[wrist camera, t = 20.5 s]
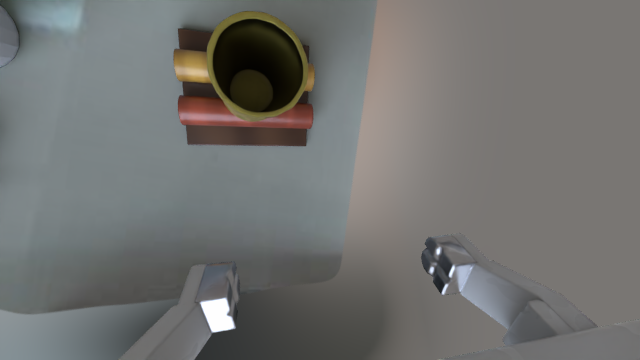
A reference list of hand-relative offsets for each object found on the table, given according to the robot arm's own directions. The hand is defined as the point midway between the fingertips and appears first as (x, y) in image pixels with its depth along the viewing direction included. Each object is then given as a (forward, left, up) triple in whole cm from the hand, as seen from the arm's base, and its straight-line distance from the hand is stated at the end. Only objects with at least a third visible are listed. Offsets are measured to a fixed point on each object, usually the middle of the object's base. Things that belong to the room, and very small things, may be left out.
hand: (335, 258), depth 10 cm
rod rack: (+3, -8, -24) cm, 25 cm away
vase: (+3, -8, -20) cm, 22 cm away
